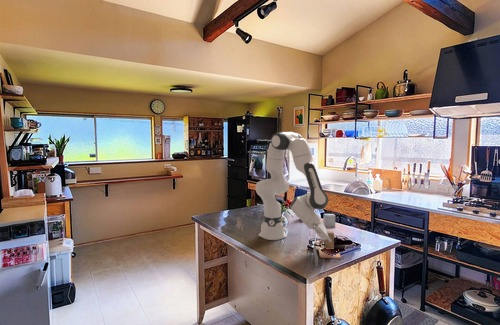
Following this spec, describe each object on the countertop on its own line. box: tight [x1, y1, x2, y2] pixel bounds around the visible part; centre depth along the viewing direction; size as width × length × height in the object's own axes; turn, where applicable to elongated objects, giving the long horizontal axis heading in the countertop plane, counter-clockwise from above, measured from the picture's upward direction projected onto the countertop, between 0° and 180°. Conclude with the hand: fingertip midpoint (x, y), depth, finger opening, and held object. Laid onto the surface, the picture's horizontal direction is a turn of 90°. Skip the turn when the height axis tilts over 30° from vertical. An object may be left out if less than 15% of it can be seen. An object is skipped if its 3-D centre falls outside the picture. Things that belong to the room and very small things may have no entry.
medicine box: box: [322, 213, 336, 228], centre depth 208 cm, size 8×4×9 cm, turn 92°
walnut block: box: [324, 230, 335, 249], centre depth 157 cm, size 4×4×9 cm
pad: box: [318, 250, 342, 260], centre depth 158 cm, size 12×11×1 cm
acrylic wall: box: [313, 245, 319, 268], centre depth 150 cm, size 18×1×4 cm, turn 170°
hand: (330, 239), depth 157 cm, fingers closed on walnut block, 4 cm apart
